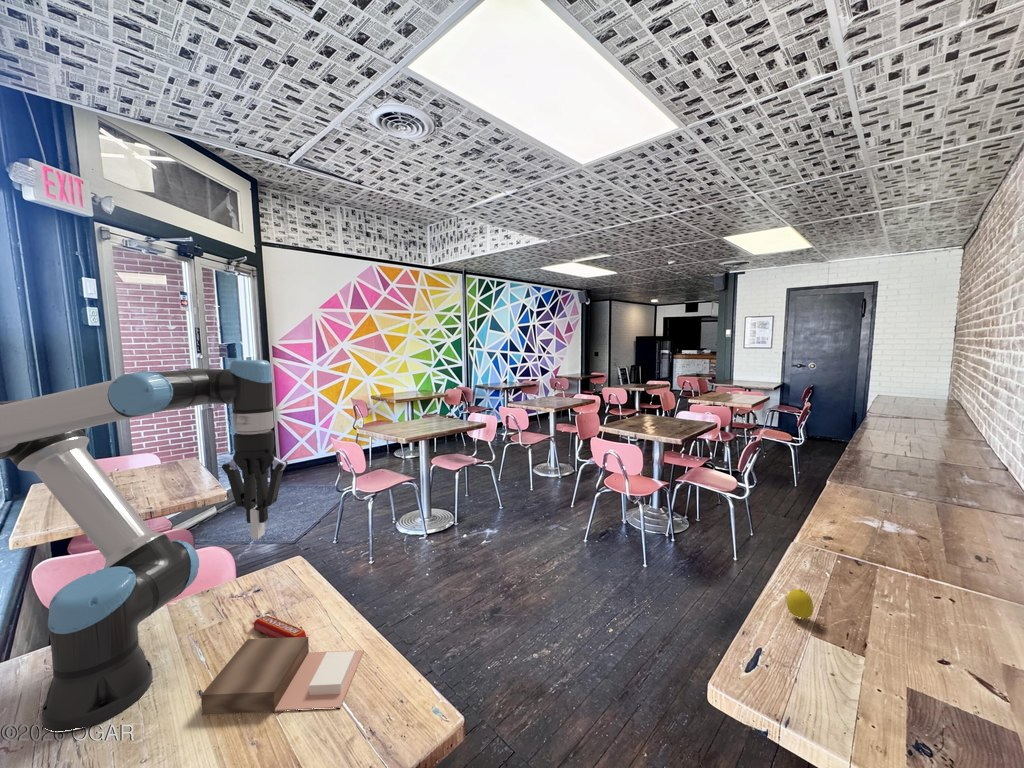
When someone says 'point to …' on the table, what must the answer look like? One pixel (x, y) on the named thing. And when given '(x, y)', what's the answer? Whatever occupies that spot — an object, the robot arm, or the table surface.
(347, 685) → the mat
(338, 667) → the tile
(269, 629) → the candy bar
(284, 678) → the serving board
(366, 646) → the table surface
